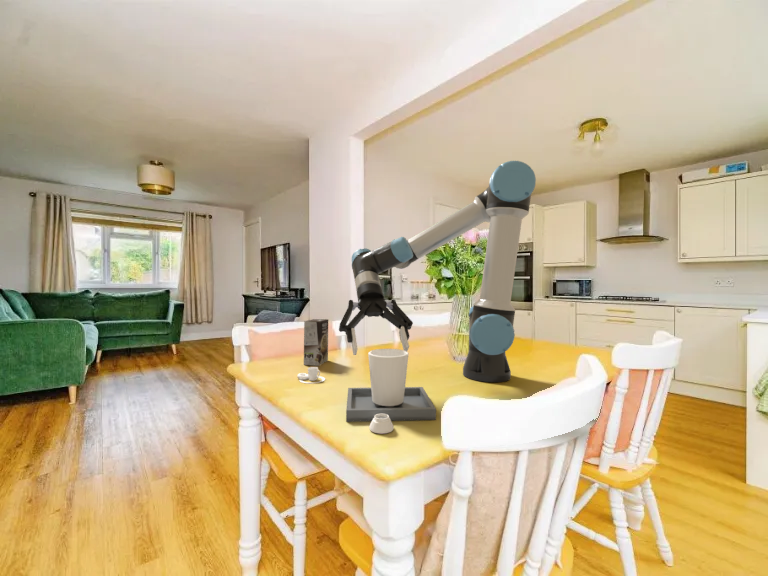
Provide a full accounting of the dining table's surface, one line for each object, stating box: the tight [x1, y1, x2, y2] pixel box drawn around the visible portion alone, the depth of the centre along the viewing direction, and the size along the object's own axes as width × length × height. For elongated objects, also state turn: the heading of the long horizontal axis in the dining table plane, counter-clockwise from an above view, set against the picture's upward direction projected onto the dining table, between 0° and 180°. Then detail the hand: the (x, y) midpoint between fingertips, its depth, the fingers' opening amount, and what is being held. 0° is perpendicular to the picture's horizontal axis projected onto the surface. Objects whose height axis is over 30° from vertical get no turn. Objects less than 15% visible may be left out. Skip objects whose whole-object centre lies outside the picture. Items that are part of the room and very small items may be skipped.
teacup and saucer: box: [296, 366, 326, 385], centre depth 108 cm, size 9×8×4 cm
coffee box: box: [303, 318, 329, 367], centre depth 129 cm, size 9×6×16 cm
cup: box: [367, 348, 409, 408], centre depth 84 cm, size 10×10×13 cm
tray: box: [345, 386, 437, 423], centre depth 84 cm, size 20×16×2 cm
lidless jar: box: [368, 413, 395, 435], centre depth 72 cm, size 5×3×5 cm
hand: (381, 350), depth 88 cm, fingers open, 13 cm apart
